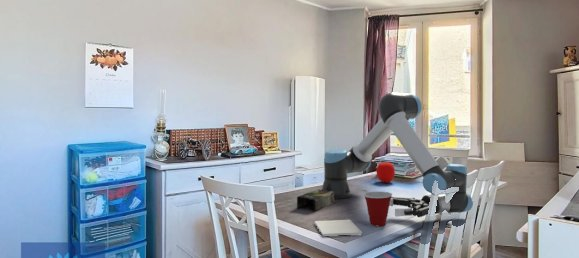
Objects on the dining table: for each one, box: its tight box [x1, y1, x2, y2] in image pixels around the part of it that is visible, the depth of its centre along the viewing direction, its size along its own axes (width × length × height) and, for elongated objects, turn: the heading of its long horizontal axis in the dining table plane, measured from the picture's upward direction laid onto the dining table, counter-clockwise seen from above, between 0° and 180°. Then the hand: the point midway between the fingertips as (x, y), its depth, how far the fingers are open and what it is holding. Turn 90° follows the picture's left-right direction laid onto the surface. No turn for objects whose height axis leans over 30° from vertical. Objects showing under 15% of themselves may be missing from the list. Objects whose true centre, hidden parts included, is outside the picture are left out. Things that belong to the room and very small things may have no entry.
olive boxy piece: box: [296, 189, 335, 212], centre depth 160 cm, size 20×10×6 cm, turn 146°
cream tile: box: [314, 219, 363, 237], centre depth 127 cm, size 14×14×1 cm
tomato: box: [376, 161, 396, 183], centre depth 211 cm, size 11×11×13 cm
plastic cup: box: [362, 191, 393, 227], centre depth 133 cm, size 11×11×12 cm
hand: (386, 207), depth 133 cm, fingers open, 13 cm apart
